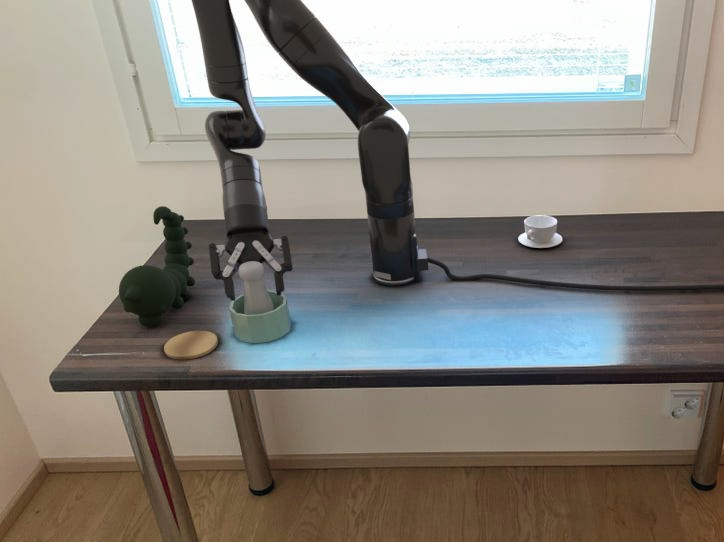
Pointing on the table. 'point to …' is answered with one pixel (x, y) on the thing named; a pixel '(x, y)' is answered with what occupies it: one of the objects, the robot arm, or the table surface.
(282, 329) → the cup
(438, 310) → the table surface
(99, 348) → the table surface
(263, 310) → the salt shaker
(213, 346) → the coaster
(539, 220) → the teacup
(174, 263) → the toy figurine
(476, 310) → the table surface
